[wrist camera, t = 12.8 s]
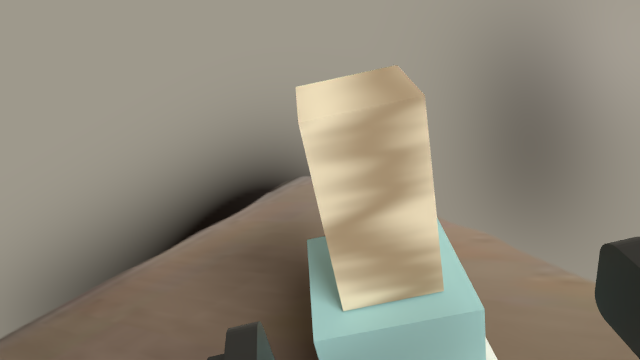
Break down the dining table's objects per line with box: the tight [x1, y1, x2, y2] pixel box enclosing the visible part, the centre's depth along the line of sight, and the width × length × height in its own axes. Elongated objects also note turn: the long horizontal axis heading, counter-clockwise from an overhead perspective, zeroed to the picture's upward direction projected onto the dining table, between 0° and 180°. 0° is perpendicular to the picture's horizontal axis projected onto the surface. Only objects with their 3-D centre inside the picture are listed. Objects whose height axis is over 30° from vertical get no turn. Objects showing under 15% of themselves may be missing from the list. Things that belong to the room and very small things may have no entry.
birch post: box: [296, 65, 444, 311], centre depth 22 cm, size 5×5×10 cm
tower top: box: [307, 219, 486, 360], centre depth 26 cm, size 8×8×4 cm
